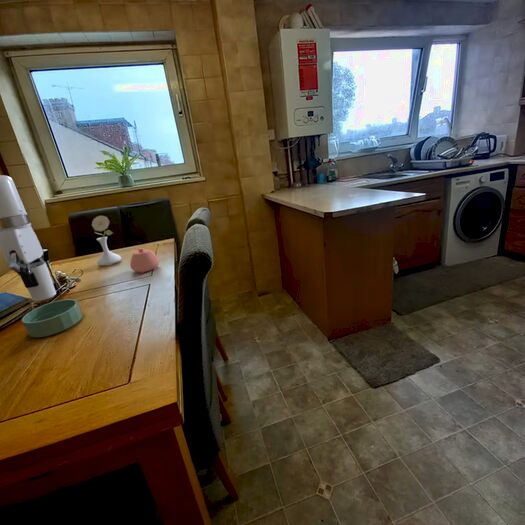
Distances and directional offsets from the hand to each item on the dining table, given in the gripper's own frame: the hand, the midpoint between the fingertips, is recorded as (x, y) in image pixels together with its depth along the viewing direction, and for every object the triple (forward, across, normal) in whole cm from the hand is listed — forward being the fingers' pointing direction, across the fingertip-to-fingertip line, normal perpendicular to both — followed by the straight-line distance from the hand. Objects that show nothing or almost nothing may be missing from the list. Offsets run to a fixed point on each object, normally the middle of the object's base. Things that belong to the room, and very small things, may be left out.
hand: (38, 281), depth 82 cm
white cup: (+5, 0, 0) cm, 5 cm away
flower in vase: (+15, -61, +1) cm, 63 cm away
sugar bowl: (+15, -41, +21) cm, 49 cm away
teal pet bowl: (+15, 0, 0) cm, 15 cm away
